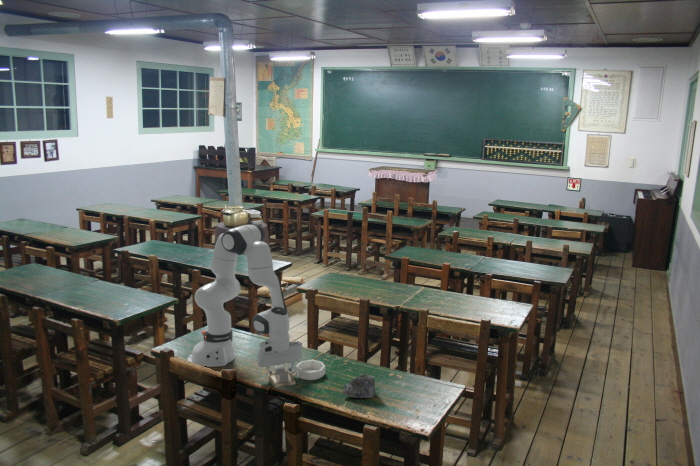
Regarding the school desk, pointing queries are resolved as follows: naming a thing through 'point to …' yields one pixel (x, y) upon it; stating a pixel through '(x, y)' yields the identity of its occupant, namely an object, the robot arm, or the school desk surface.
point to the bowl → (310, 369)
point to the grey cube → (278, 369)
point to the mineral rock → (360, 387)
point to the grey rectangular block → (282, 377)
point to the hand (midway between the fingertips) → (280, 372)
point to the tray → (276, 384)
